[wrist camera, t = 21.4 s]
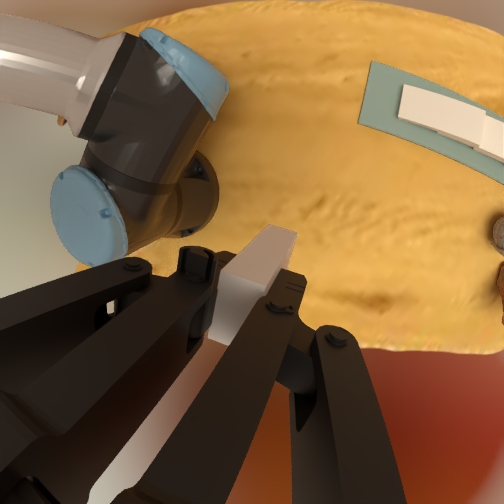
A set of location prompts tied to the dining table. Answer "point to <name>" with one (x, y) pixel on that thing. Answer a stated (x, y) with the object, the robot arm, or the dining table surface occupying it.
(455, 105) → the domino
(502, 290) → the figurine
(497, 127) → the domino
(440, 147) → the strip
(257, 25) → the dining table surface
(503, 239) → the hand grenade
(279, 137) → the dining table surface
